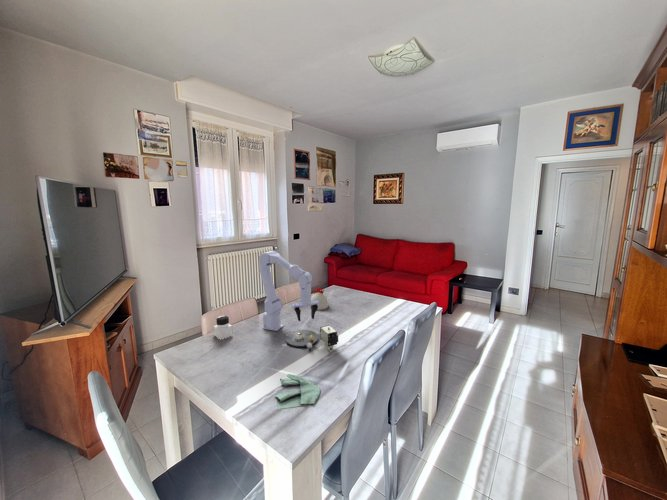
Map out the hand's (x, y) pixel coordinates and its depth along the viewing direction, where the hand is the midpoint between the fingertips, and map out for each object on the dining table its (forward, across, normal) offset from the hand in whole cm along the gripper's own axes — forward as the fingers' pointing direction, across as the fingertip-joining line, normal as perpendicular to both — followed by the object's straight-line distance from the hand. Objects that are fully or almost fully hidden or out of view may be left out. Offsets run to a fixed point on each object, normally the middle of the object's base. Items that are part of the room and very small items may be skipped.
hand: (305, 319), depth 150 cm
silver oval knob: (+10, -4, -16) cm, 19 cm away
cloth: (+10, -19, -41) cm, 46 cm away
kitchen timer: (+10, +22, +38) cm, 45 cm away
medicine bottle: (+10, -41, +16) cm, 45 cm away
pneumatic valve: (+10, +6, -19) cm, 22 cm away
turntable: (+10, -4, -4) cm, 11 cm away
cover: (+8, -6, -7) cm, 12 cm away
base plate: (+10, -4, -4) cm, 11 cm away
